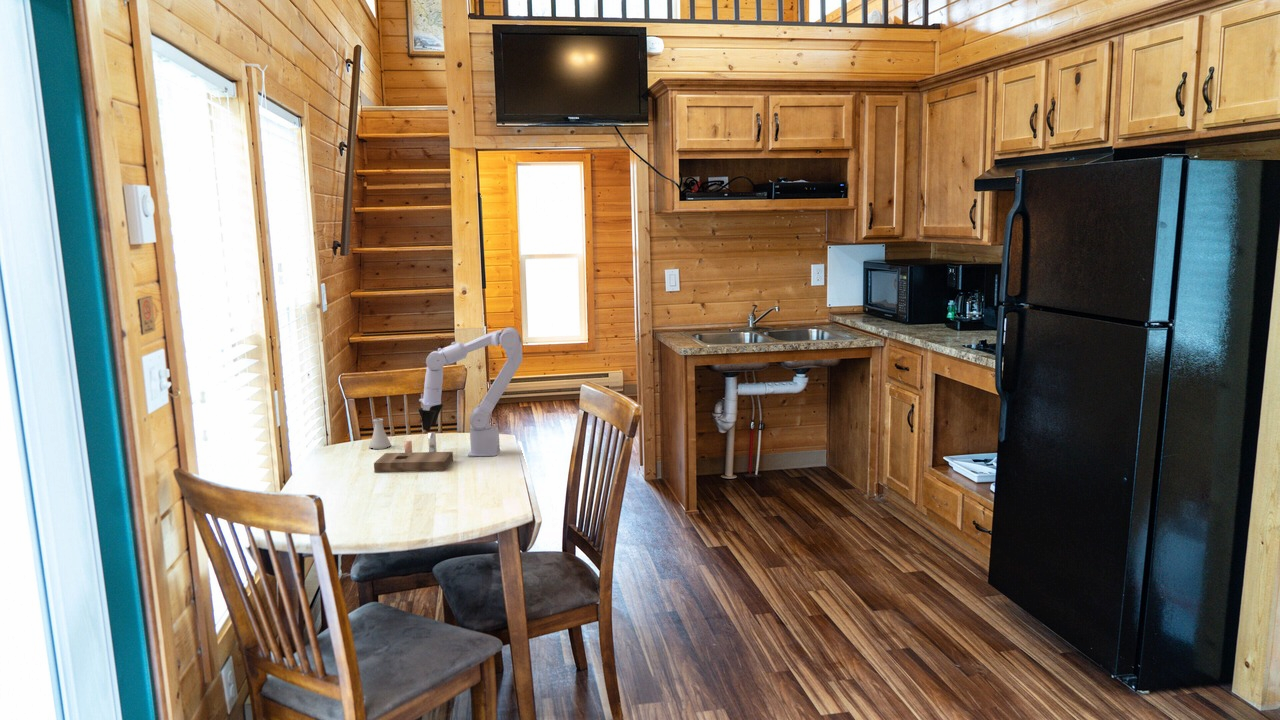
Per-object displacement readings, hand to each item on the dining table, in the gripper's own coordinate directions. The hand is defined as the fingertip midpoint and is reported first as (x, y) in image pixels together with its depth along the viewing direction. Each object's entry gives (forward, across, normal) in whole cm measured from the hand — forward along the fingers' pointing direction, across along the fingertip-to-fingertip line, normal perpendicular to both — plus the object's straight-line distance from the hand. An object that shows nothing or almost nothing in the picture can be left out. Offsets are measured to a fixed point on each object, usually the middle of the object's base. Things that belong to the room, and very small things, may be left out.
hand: (429, 427), depth 278 cm
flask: (+13, -14, -20) cm, 27 cm away
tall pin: (+10, 0, +2) cm, 10 cm away
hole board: (+10, +12, -1) cm, 16 cm away
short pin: (+11, -3, -7) cm, 13 cm away
